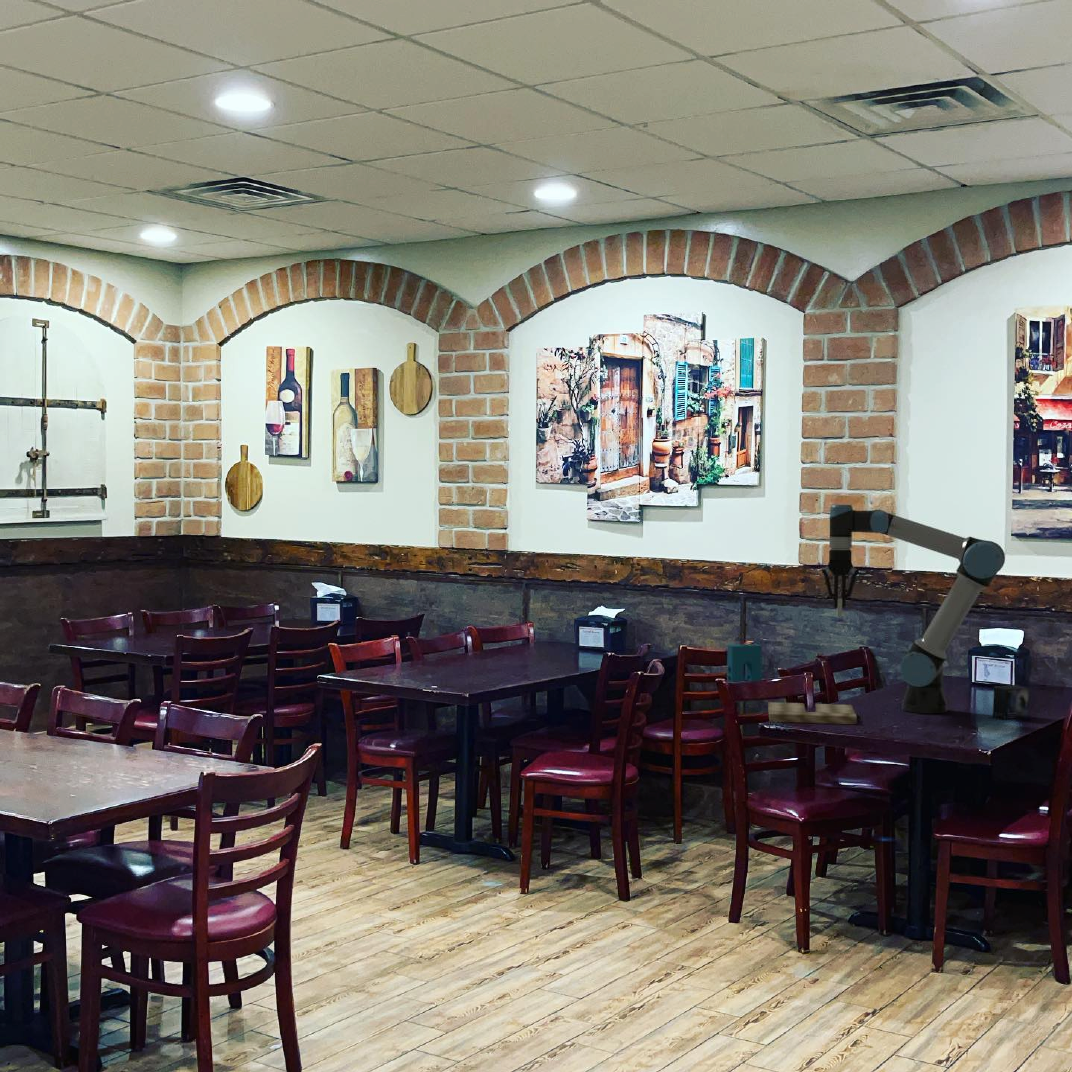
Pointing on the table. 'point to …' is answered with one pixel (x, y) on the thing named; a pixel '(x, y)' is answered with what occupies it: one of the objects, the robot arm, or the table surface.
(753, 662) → the block
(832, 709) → the plank near
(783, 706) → the plank far
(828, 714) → the laid floor
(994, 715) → the small box
